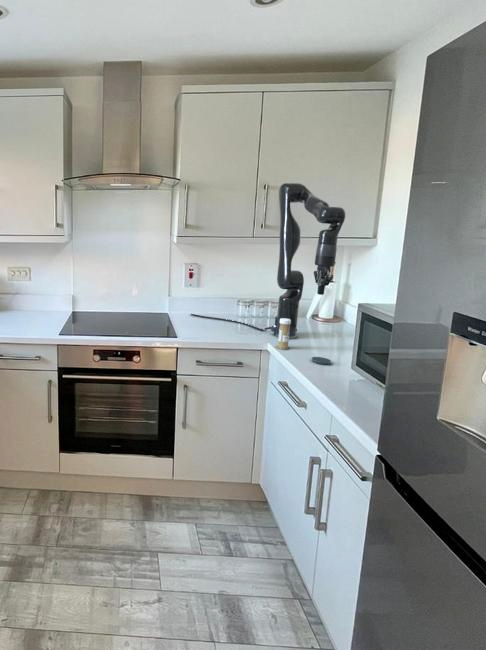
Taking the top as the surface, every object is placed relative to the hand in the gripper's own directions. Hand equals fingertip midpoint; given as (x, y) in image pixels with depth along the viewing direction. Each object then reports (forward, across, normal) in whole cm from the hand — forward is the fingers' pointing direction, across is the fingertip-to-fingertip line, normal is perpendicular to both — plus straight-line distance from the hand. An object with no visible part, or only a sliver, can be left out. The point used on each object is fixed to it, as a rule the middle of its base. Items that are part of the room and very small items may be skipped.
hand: (320, 294), depth 181 cm
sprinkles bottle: (+26, -3, -12) cm, 29 cm away
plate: (+26, +15, -4) cm, 30 cm away
